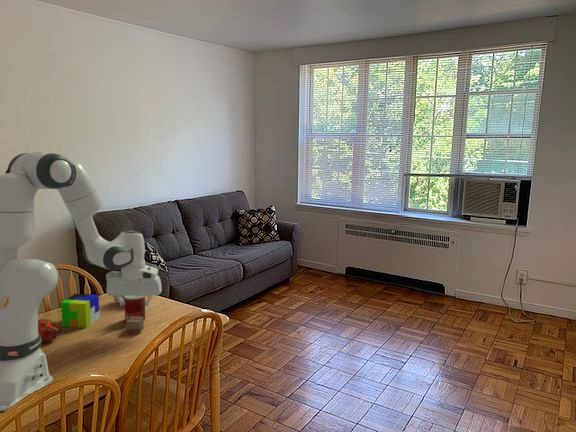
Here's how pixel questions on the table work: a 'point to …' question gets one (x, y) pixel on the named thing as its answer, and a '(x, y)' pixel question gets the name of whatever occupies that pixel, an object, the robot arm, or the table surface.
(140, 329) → the walnut cube
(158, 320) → the table surface
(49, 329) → the dragon fruit
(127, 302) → the canned food
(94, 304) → the puzzle toy
